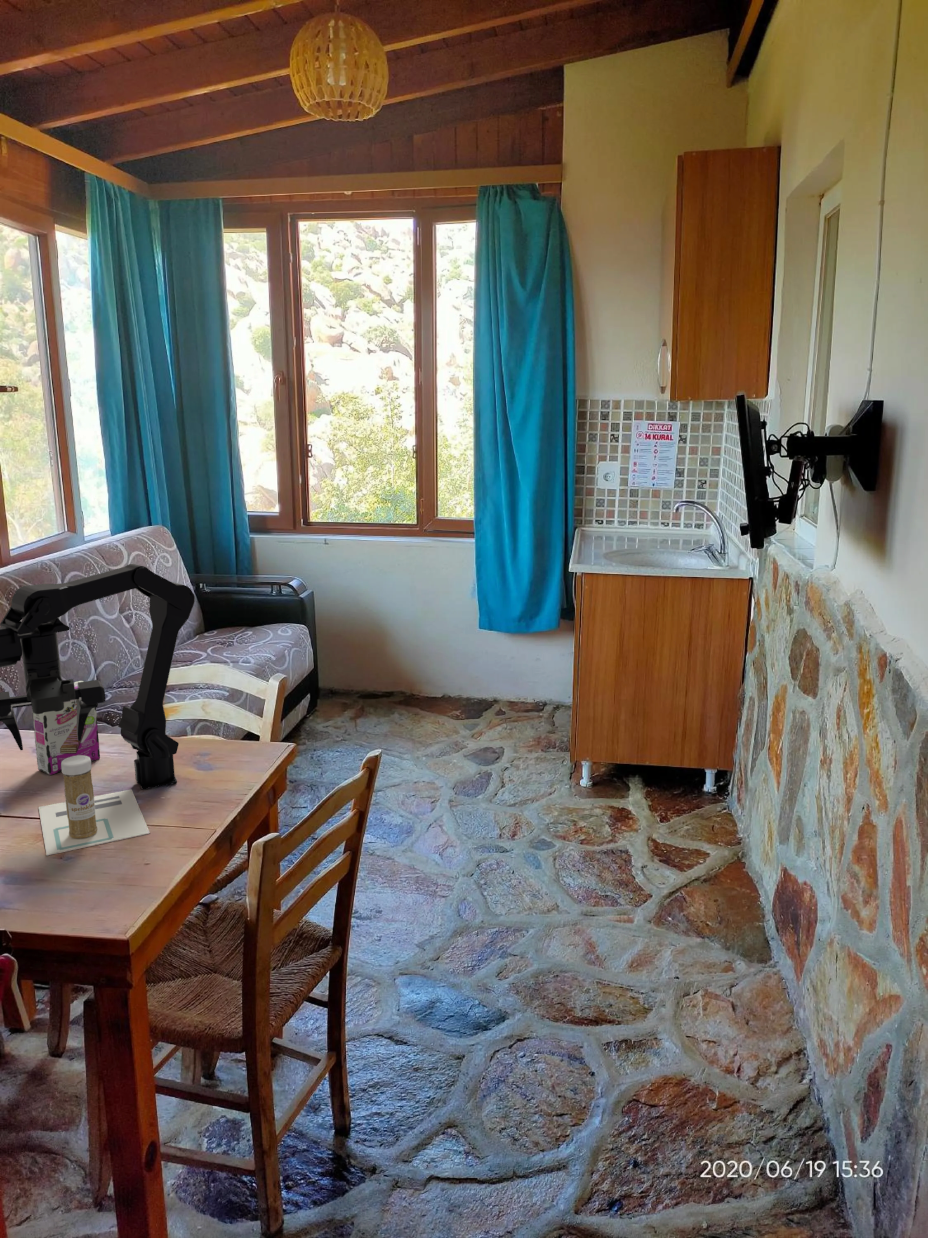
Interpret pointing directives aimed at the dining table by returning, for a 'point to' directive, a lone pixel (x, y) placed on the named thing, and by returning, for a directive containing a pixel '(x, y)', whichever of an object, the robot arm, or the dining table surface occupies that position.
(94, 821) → the sprinkles bottle
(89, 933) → the dining table surface
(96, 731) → the candy bar box
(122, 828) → the paper sheet
